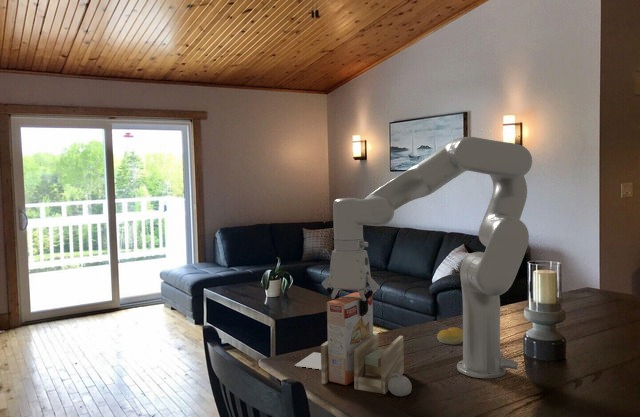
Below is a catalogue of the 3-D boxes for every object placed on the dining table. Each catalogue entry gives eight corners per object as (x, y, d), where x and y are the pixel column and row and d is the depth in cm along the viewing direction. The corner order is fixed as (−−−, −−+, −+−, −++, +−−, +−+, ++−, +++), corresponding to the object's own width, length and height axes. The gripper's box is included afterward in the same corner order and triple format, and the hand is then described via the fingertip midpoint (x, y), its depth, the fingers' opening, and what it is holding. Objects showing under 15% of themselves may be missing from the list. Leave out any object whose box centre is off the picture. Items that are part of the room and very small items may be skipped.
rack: (403, 373, 149) (403, 336, 148) (385, 393, 135) (384, 353, 134) (344, 364, 156) (344, 329, 155) (321, 383, 143) (320, 345, 142)
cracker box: (347, 386, 140) (344, 304, 138) (327, 382, 143) (324, 301, 142) (375, 369, 151) (373, 293, 150) (356, 365, 154) (354, 290, 153)
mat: (344, 357, 162) (344, 356, 162) (326, 371, 151) (326, 370, 151) (313, 353, 166) (313, 352, 166) (294, 366, 156) (294, 365, 156)
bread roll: (432, 340, 177) (431, 328, 176) (453, 335, 181) (452, 323, 181) (450, 347, 170) (450, 334, 169) (471, 342, 174) (471, 329, 174)
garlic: (383, 396, 134) (382, 374, 134) (393, 388, 139) (392, 367, 138) (406, 401, 131) (405, 379, 130) (415, 393, 135) (415, 372, 135)
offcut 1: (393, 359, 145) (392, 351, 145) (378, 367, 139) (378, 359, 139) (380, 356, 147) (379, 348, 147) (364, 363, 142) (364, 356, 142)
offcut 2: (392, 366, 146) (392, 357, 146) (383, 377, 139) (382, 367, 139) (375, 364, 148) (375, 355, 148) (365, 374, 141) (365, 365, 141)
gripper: (385, 244, 144) (387, 313, 146) (324, 242, 152) (326, 307, 153) (375, 248, 138) (377, 320, 139) (312, 246, 145) (314, 314, 146)
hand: (350, 313), depth 146 cm, fingers closed on cracker box, 6 cm apart
